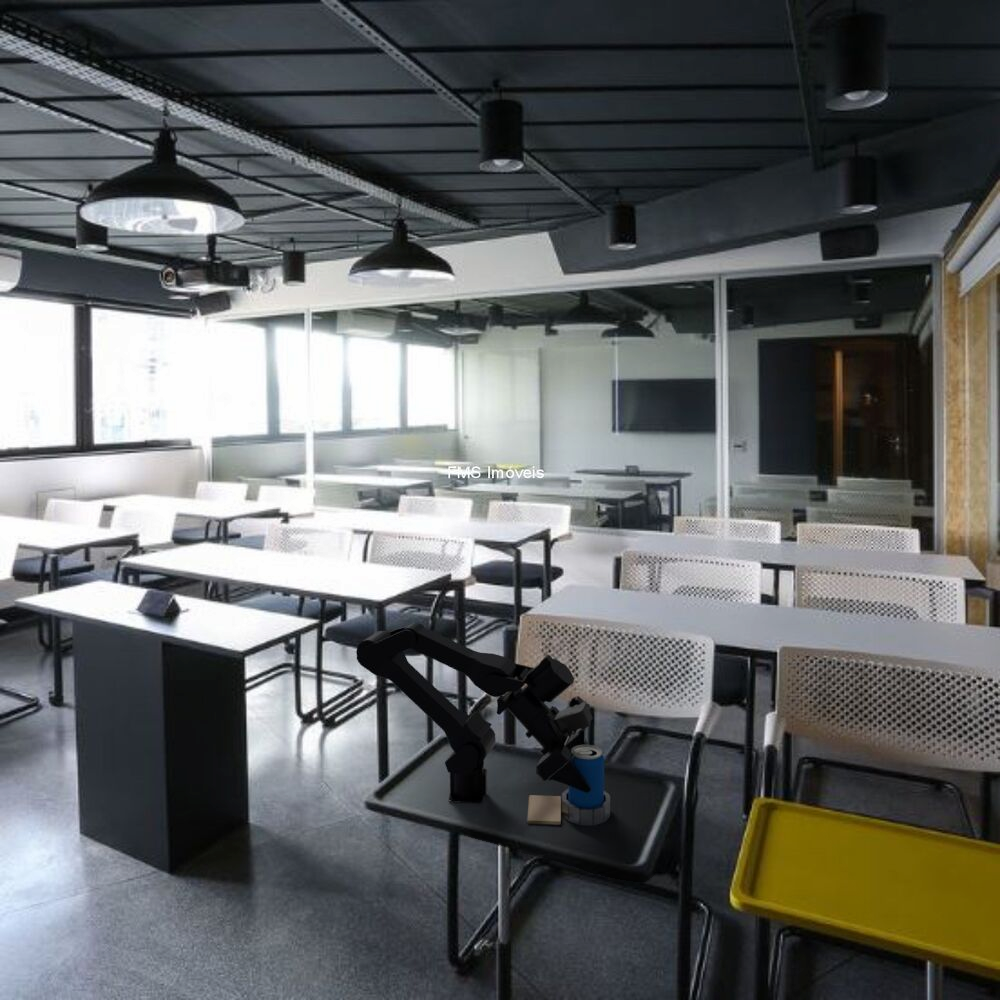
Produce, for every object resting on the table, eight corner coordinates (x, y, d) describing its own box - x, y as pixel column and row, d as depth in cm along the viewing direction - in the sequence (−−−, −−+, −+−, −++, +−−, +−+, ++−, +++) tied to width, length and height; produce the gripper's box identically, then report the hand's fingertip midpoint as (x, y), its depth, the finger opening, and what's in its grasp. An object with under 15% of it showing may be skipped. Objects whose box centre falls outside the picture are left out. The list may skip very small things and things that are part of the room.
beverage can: (605, 822, 149) (606, 759, 147) (569, 821, 149) (569, 759, 147) (601, 803, 155) (602, 743, 154) (567, 803, 155) (567, 743, 154)
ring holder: (561, 824, 148) (561, 808, 148) (561, 799, 157) (562, 784, 156) (611, 826, 148) (611, 810, 147) (608, 801, 156) (608, 786, 156)
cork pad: (527, 823, 149) (527, 820, 148) (529, 798, 157) (529, 795, 157) (560, 824, 148) (560, 821, 148) (560, 799, 157) (560, 796, 157)
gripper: (554, 709, 141) (618, 778, 140) (575, 671, 159) (632, 732, 157) (510, 747, 144) (571, 814, 143) (535, 706, 162) (590, 766, 161)
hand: (593, 779), depth 151 cm, fingers open, 8 cm apart
